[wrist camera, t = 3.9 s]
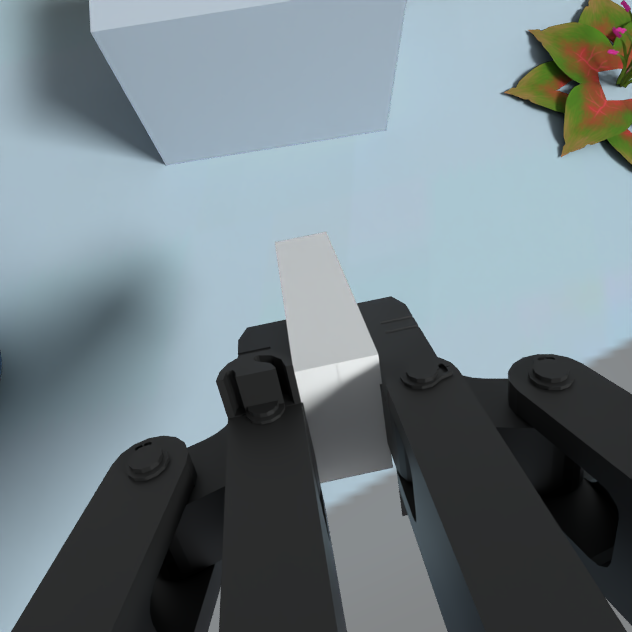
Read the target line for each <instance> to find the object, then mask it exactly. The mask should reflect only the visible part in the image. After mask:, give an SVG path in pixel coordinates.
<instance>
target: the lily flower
mask: <svg viewBox="0 0 632 632" xmlns="http://www.w3.org/2000/svg"><path fill="white" fill-rule="evenodd" d="M588 4H589V6H586V7H585V8H584V10H583V12H582V14H581V16H580V19H579V22H578V23H577V22H571V23H565V24H560V25H555V26H551V27H548V28H547V29H544V30H542V31H540V30H539V29H536V30H528V31H530V32H531V33H532V34H534V36H535V37H536V38H537V40H538V41H540V42H542V46H543V47H544V48H545V49H546V50H547V51H548V52H549V54H550V55H551V57H552V59H553V60H554V61H549V62H546V63H543V64H541V65H539V66H537V67H535V68H534V69H533V70H531V71H530V72H529V73H528V74H527V75H526V76H524V77H523V78H522V79H521V80H520V81H519V83H518V85H517V87H516V88H514V87H513V88H511V89H510V90H508V91H506V92H504V93H507V94H512V95H514V96H517V97H520V98H522V99H529V100H530V101H531V102H532V103H535V104H538V105H541V106H544V107H546V108H549V109H552V110H554V111H558V112H561V113H565V117H564V139H565V143H566V144H565V146H563V151H562V155H561V157H562V156H564V155H566V154H568V153H569V152H573V151H576V150H578V149H581V148H584V147H585V146H586V145H587V144H590V145H593V144H596V143H598V142H601V141H603V140H606V139H607V140H608V141H609V143H610V144H611V145H612V146H613V147H614V148H615V149H616V150H617V151H618V152H619V153H621V154H622V156H623V157H624V158H625V159H626V160H627V161H629V162H630V163H631V164H632V133H631V132H630V131H629V130H628V128H629V127H630V125H631V124H632V99H627V100H611V101H607V100H606V98H605V95H604V92H603V90H602V87H601V85H600V82H599V76H598V72H601V71H607V70H613V69H622V71H621V73H620V75H619V77H618V79H617V84H616V85H618V84H619V85H620V87H621V86H623V87H625V88H626V87H627V85H628V84H630V83H632V80H630V79H631V78H632V13H631V11H630V10H631V8H630V7H629V5H627V3H626V2H625V1H624V0H623V1H622V2H621V5H623V6H624V8H625V9H624V8H623V7H621V6H620V5H618V4H616V3H614V2H612V1H611V0H589V2H588ZM608 39H609V40H611V41H612V42H613V43H614V45H613V46H612V44H611V42H610V41H609V40H608ZM571 80H575V81H576V82H578V83H581V84H579V85H577V86H575V87H574V88H573V89H572V90H571V92H570V93H569V94H567V93H563V92H560V91H556V90H558V89H560V88H561V87H562V86H564V85H566V84H567V83H569V82H570V81H571ZM622 80H623V81H622ZM629 80H630V81H629Z"/></svg>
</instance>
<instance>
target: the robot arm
mask: <svg viewBox="0 0 632 632" xmlns="http://www.w3.org/2000/svg"><path fill="white" fill-rule="evenodd" d="M275 247H276V254H277V261H278V268H279V275H280V282H281V288H282V295H283V302H284V309H285V316H286V320H282V321H277V322H272V323H268V324H263V325H258V326H253V327H248V328H247V329H246V330H245V332H244V333H243V334H242V336H241V337H240V339H239V340H238V358H237V359H235V360H234V361H232V362H230V363H228V364H227V365H226V366H225V367H224V368H223V369H222V370H221V371H220V372H219V375H218V377H217V380H216V383H217V386H218V389H219V392H220V395H221V398H222V401H223V404H224V407H225V411H226V414H227V417H228V424H227V425H226V426H225V427H224V428H223V429H222V430H220V431H219V432H218V433H216V434H215V435H213V436H211V437H209V438H207V439H206V440H203V441H201V442H199V443H197V444H195V445H192V446H190V447H188V448H187V447H186V445H185V443H184V442H183V441H181V440H180V439H178V438H176V437H170V436H159V437H154V438H149V439H146V440H144V441H142V442H139V443H137V444H135V445H133V446H132V447H130V448H129V449H128V450H126V451H125V452H123V453H122V454H121V455H120V456H119V457H118V459H117V460H116V461H115V462H114V463H113V464H112V466H111V467H110V469H109V471H108V472H107V474H106V476H105V477H104V479H103V481H102V482H101V484H100V486H99V487H98V489H97V491H96V492H95V494H94V496H93V497H92V499H91V501H90V502H89V504H88V505H87V507H86V509H85V510H84V512H83V514H82V515H81V517H80V519H79V520H78V522H77V524H76V525H75V527H74V529H73V530H72V532H71V534H70V535H69V537H68V539H67V540H66V542H65V544H64V545H63V547H62V548H61V550H60V552H59V553H58V555H57V557H56V558H55V560H54V562H53V563H52V565H51V567H50V568H49V570H48V572H47V573H46V575H45V577H44V578H43V580H42V582H41V583H40V585H39V587H38V588H37V590H36V591H35V593H34V595H33V596H32V598H31V600H30V601H29V603H28V605H27V606H26V608H25V610H24V611H23V613H22V615H21V616H20V618H19V620H18V621H17V623H16V625H15V626H14V628H13V630H12V631H11V632H208V629H209V626H210V622H211V618H212V615H213V611H214V608H215V605H216V601H217V598H218V594H219V591H220V587H221V599H220V622H219V632H347V630H346V623H345V618H344V612H343V607H342V601H341V595H340V589H339V583H338V577H337V572H336V566H335V560H334V555H333V549H332V543H331V537H330V532H329V526H328V520H327V514H326V509H325V503H324V499H323V495H322V490H321V486H320V483H324V482H328V481H333V480H337V479H342V478H347V477H351V476H356V475H361V474H365V473H370V472H375V471H379V470H384V469H389V468H393V464H392V457H393V460H394V463H395V465H396V468H397V476H398V484H399V492H400V499H401V508H402V515H403V516H405V515H408V516H409V519H410V522H411V525H412V528H413V531H414V534H415V537H416V540H417V543H418V545H419V548H420V551H421V555H422V558H423V561H424V564H425V566H426V569H427V572H428V575H429V578H430V581H431V584H432V587H433V590H434V593H435V596H436V599H437V602H438V604H439V608H440V611H441V614H442V616H443V620H444V622H445V625H446V628H447V631H448V632H627V631H626V630H625V628H624V627H623V625H622V624H621V622H620V620H619V619H618V617H617V616H616V614H615V613H614V611H613V610H612V608H611V607H610V605H609V604H608V602H607V600H608V601H609V602H610V603H611V604H612V605H613V606H614V607H615V608H616V609H617V610H618V612H619V613H620V614H621V615H622V616H623V617H624V618H625V619H626V620H627V621H628V622H629V623H630V624H631V625H632V394H630V393H629V392H627V391H626V390H624V389H622V388H621V387H619V386H617V385H616V384H614V383H613V382H611V381H609V380H608V379H606V378H605V377H603V376H601V375H600V374H598V373H596V372H595V371H593V370H592V369H590V368H588V367H587V366H585V365H584V364H582V363H580V362H577V361H575V360H573V359H571V358H568V357H563V356H558V355H553V354H537V355H532V356H528V357H524V358H522V359H520V360H519V361H517V362H515V363H514V364H513V365H512V366H511V368H510V370H509V371H508V379H482V378H471V377H467V376H462V374H461V373H460V371H459V370H458V369H457V368H456V367H455V366H454V365H453V364H452V363H451V362H449V361H446V360H444V359H441V358H438V357H437V356H436V354H435V352H434V351H433V349H432V347H431V346H430V344H429V342H428V341H427V339H426V337H425V336H424V334H423V333H422V331H421V329H420V328H419V327H418V324H417V323H416V321H415V319H414V318H413V317H412V314H411V313H410V311H409V309H408V308H407V306H406V305H405V304H404V303H402V302H400V301H398V300H397V299H395V298H393V297H386V298H381V299H376V300H371V301H367V302H362V303H356V301H355V298H354V296H353V294H352V291H351V289H350V286H349V284H348V282H347V279H346V277H345V275H344V272H343V270H342V268H341V265H340V263H339V260H338V258H337V256H336V253H335V251H334V249H333V246H332V244H331V242H330V239H329V237H328V234H327V232H322V233H318V234H313V235H308V236H303V237H298V238H293V239H288V240H283V241H278V242H275ZM391 454H392V456H391ZM605 598H606V599H607V600H606V599H605Z"/></svg>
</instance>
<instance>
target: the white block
mask: <svg viewBox="0 0 632 632" xmlns="http://www.w3.org/2000/svg"><path fill="white" fill-rule="evenodd" d="M406 2H407V0H89V9H90V31H91V34H92V36H93V37H94V39H95V41H96V43H97V44H98V46H99V48H100V50H101V52H102V53H103V55H104V57H105V59H106V60H107V62H108V64H109V66H110V67H111V69H112V71H113V73H114V74H115V76H116V78H117V80H118V82H119V83H120V85H121V87H122V89H123V90H124V92H125V94H126V96H127V97H128V99H129V101H130V103H131V104H132V106H133V108H134V110H135V111H136V113H137V115H138V117H139V119H140V120H141V122H142V124H143V126H144V127H145V129H146V131H147V133H148V134H149V136H150V138H151V140H152V141H153V143H154V145H155V147H156V149H157V150H158V152H159V154H160V156H161V157H162V159H163V161H164V163H165V164H166V165H172V164H178V163H184V162H191V161H197V160H203V159H209V158H216V157H222V156H228V155H235V154H241V153H247V152H253V151H260V150H266V149H272V148H279V147H285V146H291V145H297V144H304V143H310V142H316V141H323V140H329V139H335V138H341V137H348V136H354V135H360V134H367V133H373V132H379V131H385V130H387V124H388V117H389V111H390V104H391V98H392V92H393V85H394V79H395V72H396V66H397V59H398V53H399V47H400V40H401V34H402V27H403V21H404V15H405V8H406Z"/></svg>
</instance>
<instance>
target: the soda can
mask: <svg viewBox="0 0 632 632" xmlns="http://www.w3.org/2000/svg"><path fill="white" fill-rule="evenodd" d="M1 375H2V359H1V352H0V380H1Z"/></svg>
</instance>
